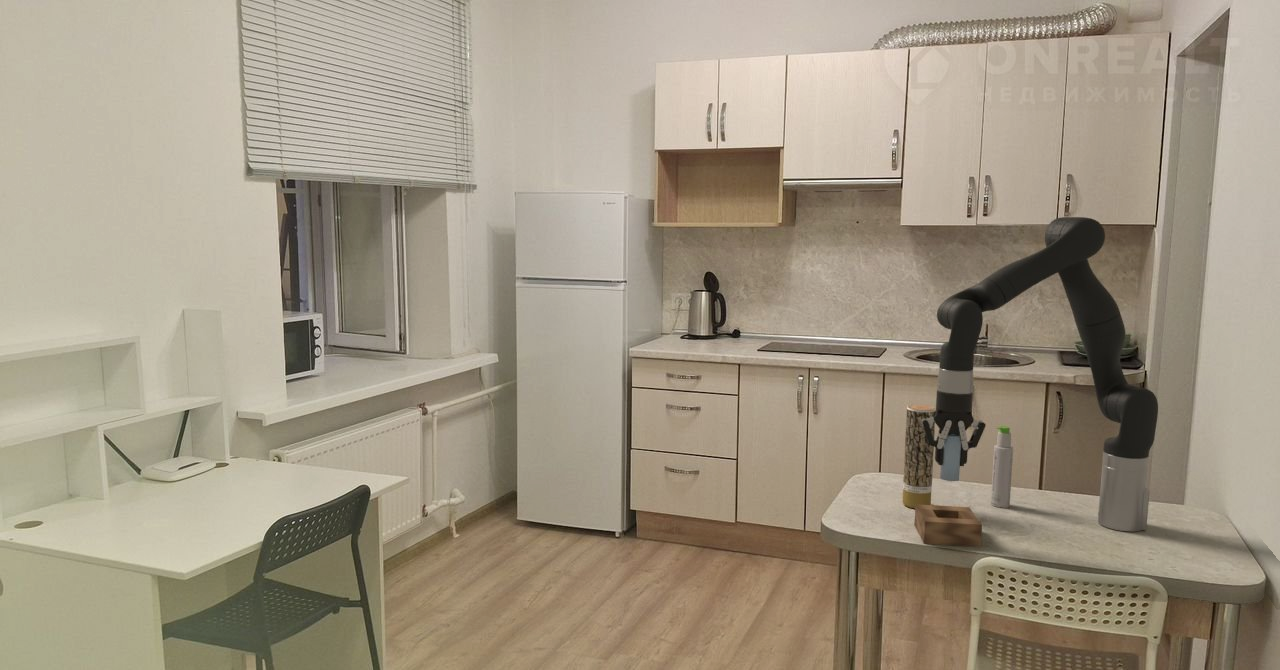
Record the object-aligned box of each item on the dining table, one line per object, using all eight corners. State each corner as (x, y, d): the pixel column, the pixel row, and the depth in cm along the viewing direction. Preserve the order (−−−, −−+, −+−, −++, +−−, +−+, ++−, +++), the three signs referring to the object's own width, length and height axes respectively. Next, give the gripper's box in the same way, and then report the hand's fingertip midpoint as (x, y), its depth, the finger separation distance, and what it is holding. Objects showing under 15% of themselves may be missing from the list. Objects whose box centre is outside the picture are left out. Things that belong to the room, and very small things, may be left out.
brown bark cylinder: (934, 510, 211) (939, 410, 208) (906, 509, 211) (911, 410, 208) (925, 501, 218) (930, 404, 215) (898, 501, 218) (903, 404, 215)
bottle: (989, 501, 218) (993, 424, 216) (1007, 503, 217) (1012, 425, 215) (992, 507, 214) (997, 428, 211) (1011, 508, 213) (1016, 429, 210)
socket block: (967, 528, 198) (969, 507, 198) (980, 546, 187) (982, 524, 186) (914, 525, 200) (915, 504, 200) (923, 543, 188) (924, 521, 188)
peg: (956, 476, 193) (959, 433, 192) (961, 481, 190) (963, 437, 188) (938, 475, 194) (941, 432, 193) (942, 480, 190) (944, 436, 189)
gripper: (984, 387, 192) (979, 462, 194) (918, 384, 194) (914, 458, 196) (993, 393, 185) (988, 471, 187) (924, 390, 187) (920, 467, 189)
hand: (950, 464), depth 191 cm, fingers closed on peg, 4 cm apart
